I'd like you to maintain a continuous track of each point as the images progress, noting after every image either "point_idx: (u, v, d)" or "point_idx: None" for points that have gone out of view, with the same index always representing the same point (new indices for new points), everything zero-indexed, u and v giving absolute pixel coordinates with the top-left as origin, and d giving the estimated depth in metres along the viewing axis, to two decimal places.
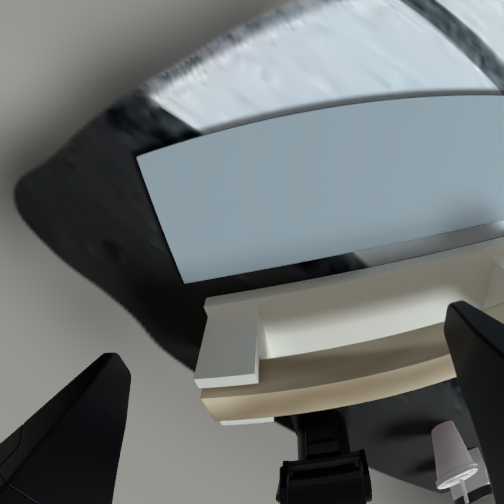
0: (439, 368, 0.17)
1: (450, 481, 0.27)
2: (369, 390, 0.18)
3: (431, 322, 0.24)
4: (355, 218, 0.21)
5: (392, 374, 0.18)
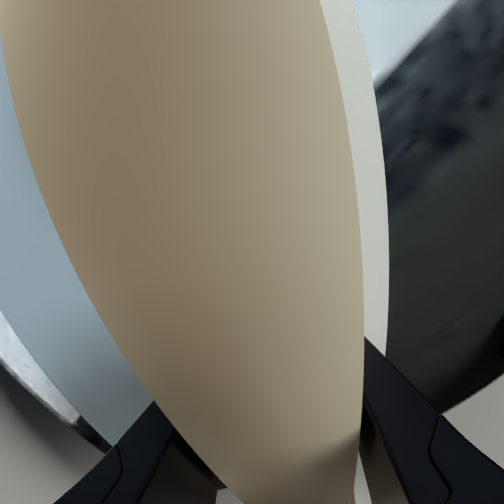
0: (239, 409, 0.04)
1: None
2: (301, 498, 0.06)
3: None
4: (102, 325, 0.14)
5: (244, 485, 0.06)
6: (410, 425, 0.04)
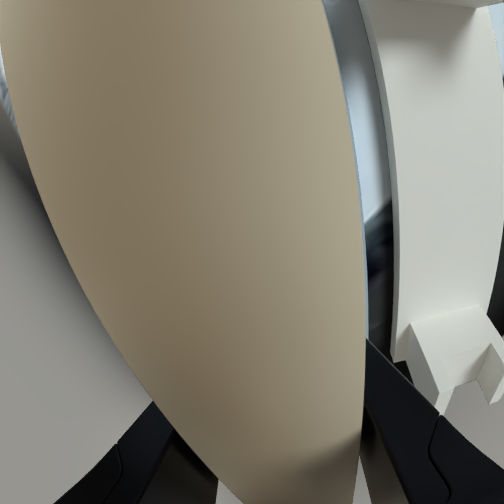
0: (239, 409, 0.04)
1: None
2: (302, 499, 0.06)
3: (484, 103, 0.13)
4: None
5: (244, 485, 0.06)
6: (410, 425, 0.04)
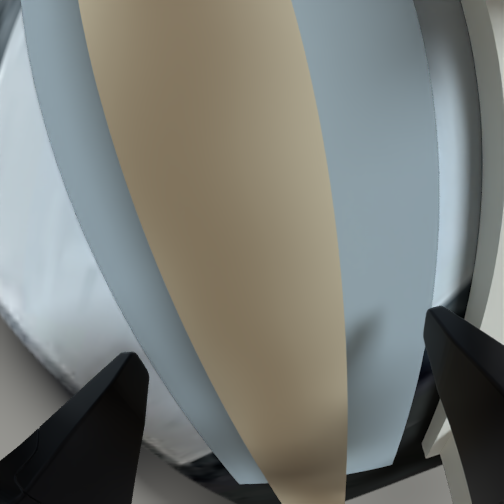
0: (248, 323, 0.06)
1: None
2: (301, 442, 0.08)
3: None
4: (360, 336, 0.10)
5: (249, 422, 0.08)
6: None
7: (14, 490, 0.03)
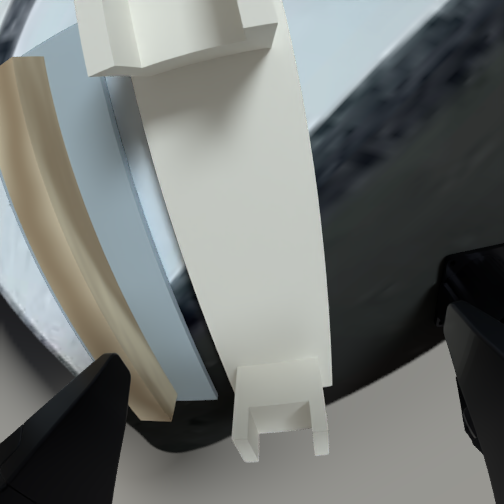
0: (54, 265, 0.16)
1: None
2: (93, 329, 0.19)
3: (278, 161, 0.16)
4: (131, 285, 0.20)
5: (70, 312, 0.18)
6: None
7: None
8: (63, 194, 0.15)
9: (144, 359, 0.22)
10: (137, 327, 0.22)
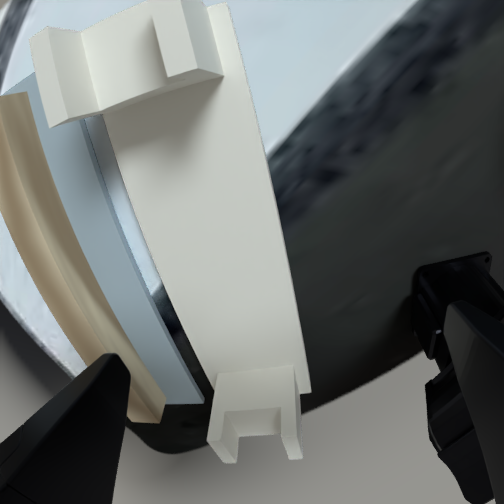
0: (45, 281, 0.18)
1: None
2: (83, 338, 0.20)
3: (237, 184, 0.17)
4: (116, 298, 0.22)
5: (62, 322, 0.20)
6: None
7: None
8: (50, 218, 0.17)
9: (131, 365, 0.23)
10: (124, 335, 0.23)
